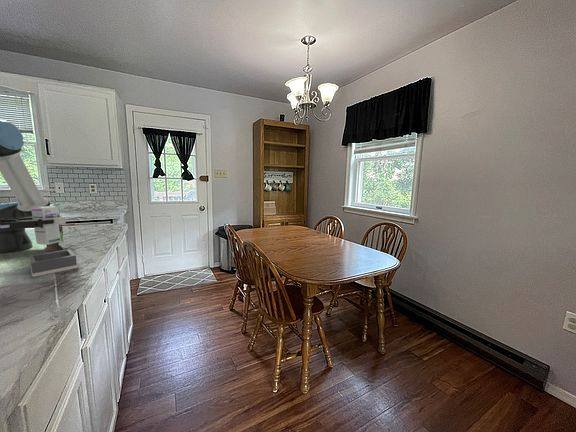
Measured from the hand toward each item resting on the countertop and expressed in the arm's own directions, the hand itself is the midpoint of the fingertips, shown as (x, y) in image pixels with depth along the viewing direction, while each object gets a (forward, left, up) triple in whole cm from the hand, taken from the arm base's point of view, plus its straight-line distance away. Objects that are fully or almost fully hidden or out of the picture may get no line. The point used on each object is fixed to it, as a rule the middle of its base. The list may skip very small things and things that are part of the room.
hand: (63, 218), depth 104 cm
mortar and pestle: (-31, -2, -20) cm, 37 cm away
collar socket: (0, -5, -20) cm, 20 cm away
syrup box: (0, -5, -9) cm, 10 cm away
